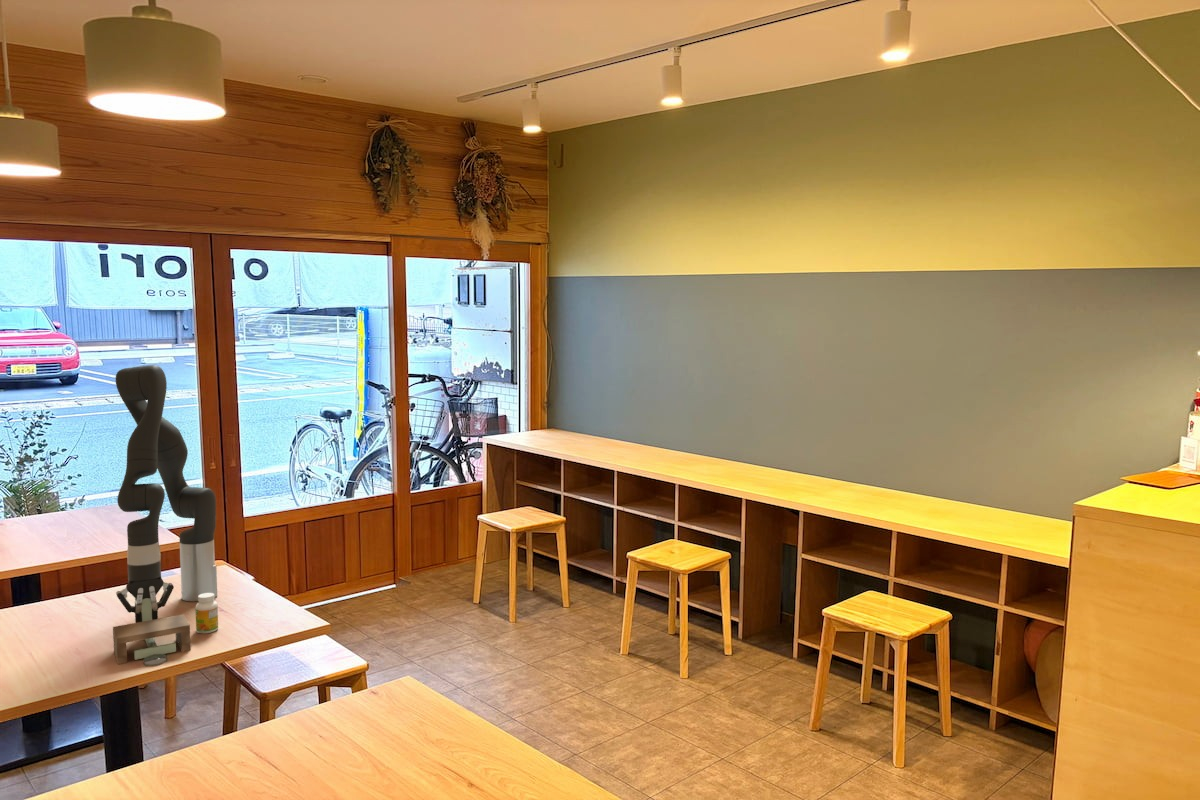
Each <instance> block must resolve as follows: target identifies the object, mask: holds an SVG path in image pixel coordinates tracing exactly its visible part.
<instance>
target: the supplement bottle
mask: <svg viewBox="0 0 1200 800" xmlns="http://www.w3.org/2000/svg"><path fill="white" fill-rule="evenodd" d="M215 598H216V597H214V593H203V594H200V595H198V601H197V603H196V604H195V629H196V630H195V631H196V632H197V633H198V634H210V633H214V632H216V631H217V630H218V629H219V611H218V610H219V607H218V602H217V601H216V600H215Z"/></svg>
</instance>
